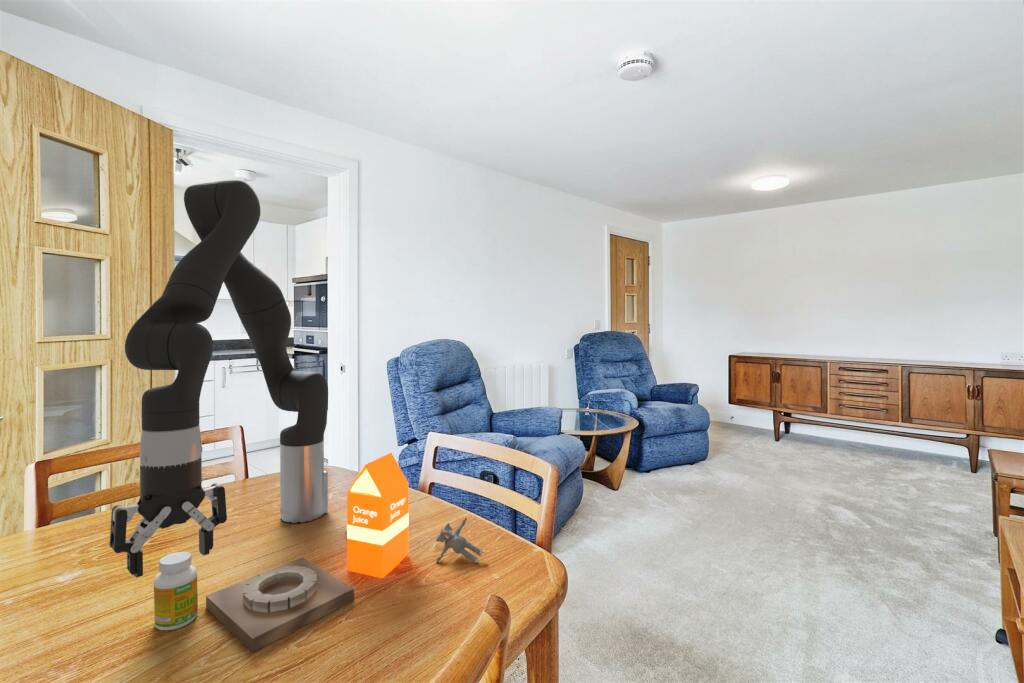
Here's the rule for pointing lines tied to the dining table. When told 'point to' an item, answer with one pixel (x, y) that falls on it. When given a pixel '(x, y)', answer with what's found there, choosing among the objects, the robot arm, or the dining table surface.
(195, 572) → the supplement bottle
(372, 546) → the orange juice
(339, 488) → the dining table surface
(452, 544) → the grey plastic figure
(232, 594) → the stone ring base
